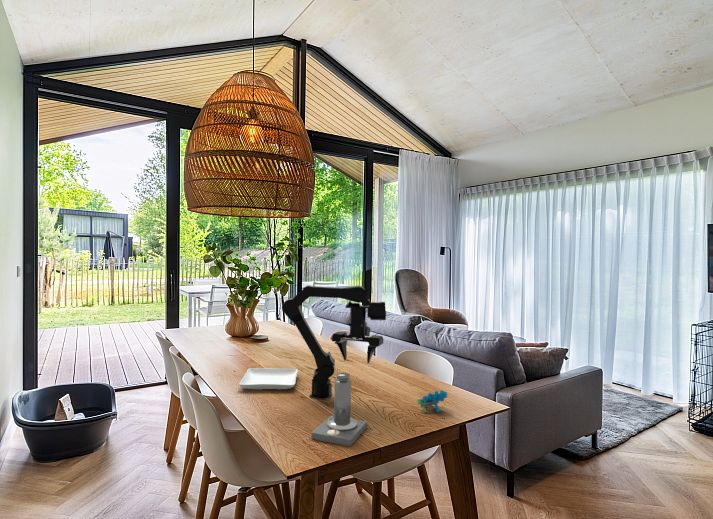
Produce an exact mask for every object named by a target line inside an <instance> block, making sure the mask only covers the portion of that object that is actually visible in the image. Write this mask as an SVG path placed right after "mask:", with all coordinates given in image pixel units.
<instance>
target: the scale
mask: <svg viewBox="0 0 713 519" xmlns="http://www.w3.org/2000/svg"><path fill="white" fill-rule="evenodd" d="M331 418H334V414H332V415H330V416H329V417H327V418H326V419H325V420H324V421H323V422H322V423H321V424H320V425H319V426H317V427H316V428H315V429H313V431H311V433H310V434H311V438H310V439H311V440H316V441H320V442H321V441H322V442H326V443H331V444H337V445H340V446H346V447H351V446H352V445H353V444H354V443H355V441H356V440H357V439H358V438H359V437H360V436H361V435H362V434H363V432H364V431H365V430H366V429H367V428H368V421H367V420H359V419H355V420H356V421H357V426H356V427H355V428H354V429H351V430H346V431H339V430H336V429H335V430H334V429H331V428H329V427H328V426H327V421H328V420H329V419H331ZM366 427H367V428H366ZM360 434H361V435H360Z"/></svg>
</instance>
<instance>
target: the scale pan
mask: <svg viewBox="0 0 713 519" xmlns="http://www.w3.org/2000/svg"><path fill="white" fill-rule="evenodd" d="M356 420H357V419H356V418H355V419H354V418H352V417H350V424H348V425H344V426H340V425H336V424H334V418H331V419H329V420H328V421H327V426H328V427H329V428H331V429H334V430H335V429H336V430H339V431H346V430H351V429H354V428H355V427H356V426H357V421H356Z"/></svg>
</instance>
